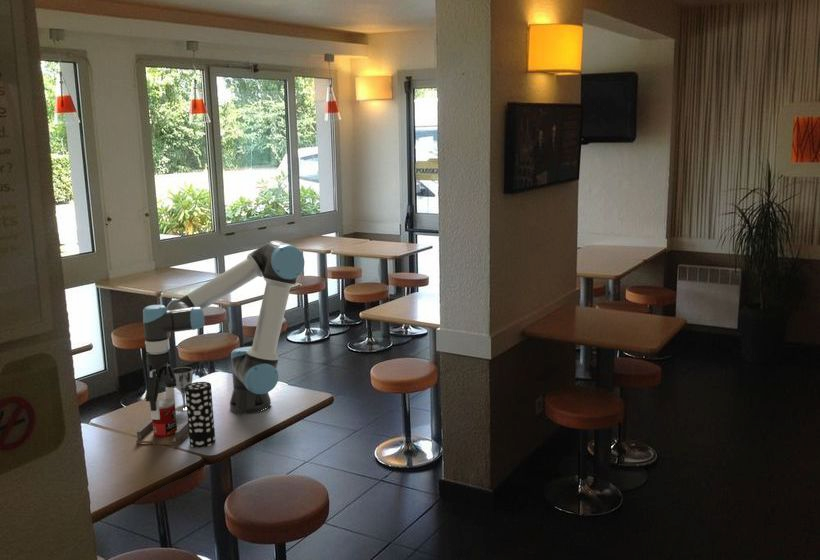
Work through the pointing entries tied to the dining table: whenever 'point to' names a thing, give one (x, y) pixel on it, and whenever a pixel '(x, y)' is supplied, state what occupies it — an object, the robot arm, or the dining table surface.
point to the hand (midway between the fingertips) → (163, 412)
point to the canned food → (165, 419)
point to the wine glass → (182, 383)
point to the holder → (148, 436)
